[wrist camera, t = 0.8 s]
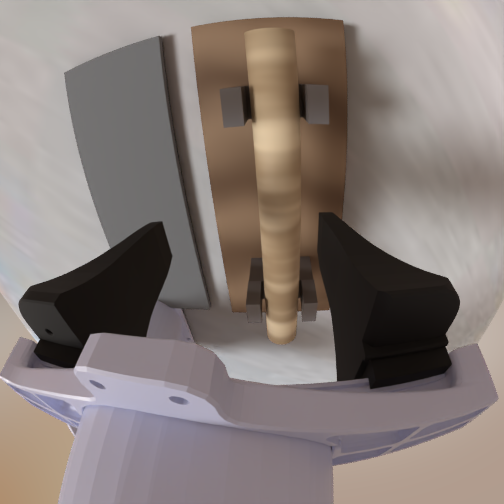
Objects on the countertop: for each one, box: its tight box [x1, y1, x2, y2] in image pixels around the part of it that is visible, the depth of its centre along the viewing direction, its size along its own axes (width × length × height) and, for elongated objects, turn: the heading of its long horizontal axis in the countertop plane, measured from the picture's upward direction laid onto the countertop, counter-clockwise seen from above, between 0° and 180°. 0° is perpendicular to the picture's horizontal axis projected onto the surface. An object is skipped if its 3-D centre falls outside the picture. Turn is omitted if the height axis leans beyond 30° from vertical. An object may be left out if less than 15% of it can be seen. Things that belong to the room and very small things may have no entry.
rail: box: [244, 28, 301, 344], centre depth 16 cm, size 22×2×2 cm, turn 4°
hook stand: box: [191, 17, 347, 323], centre depth 18 cm, size 26×10×6 cm, turn 4°
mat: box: [64, 36, 211, 309], centre depth 22 cm, size 26×9×1 cm, turn 4°
